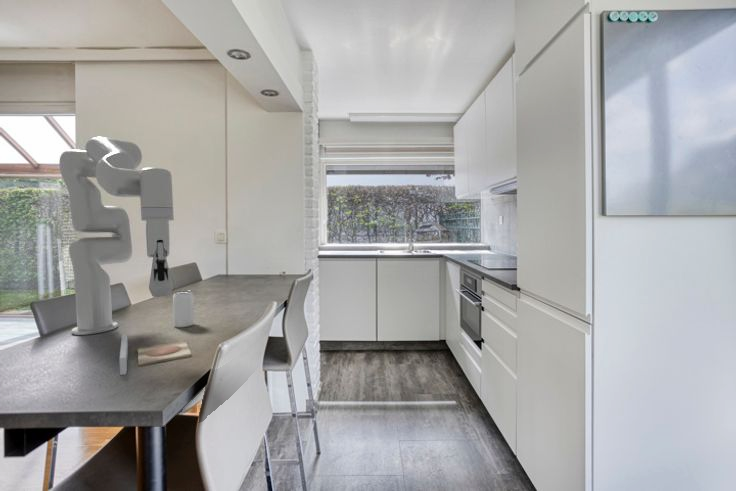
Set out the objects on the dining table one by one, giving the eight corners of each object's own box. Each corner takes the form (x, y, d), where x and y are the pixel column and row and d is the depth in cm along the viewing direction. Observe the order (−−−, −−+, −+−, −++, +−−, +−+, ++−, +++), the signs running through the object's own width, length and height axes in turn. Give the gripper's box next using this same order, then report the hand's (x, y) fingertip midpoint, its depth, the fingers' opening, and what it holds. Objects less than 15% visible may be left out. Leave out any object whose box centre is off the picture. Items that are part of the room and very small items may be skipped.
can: (180, 329, 122) (179, 294, 121) (170, 326, 125) (168, 292, 124) (198, 324, 127) (197, 291, 127) (187, 322, 131) (186, 289, 130)
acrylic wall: (122, 348, 102) (122, 335, 102) (127, 348, 103) (127, 334, 103) (120, 375, 84) (119, 358, 84) (126, 374, 85) (125, 357, 84)
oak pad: (137, 350, 101) (137, 347, 101) (185, 342, 108) (185, 339, 107) (138, 366, 89) (138, 363, 89) (191, 356, 96) (191, 353, 96)
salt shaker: (178, 293, 100) (176, 247, 99) (164, 297, 94) (162, 248, 93) (158, 293, 100) (156, 247, 100) (143, 297, 95) (141, 248, 94)
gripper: (140, 216, 101) (144, 280, 102) (141, 213, 87) (145, 288, 88) (170, 216, 105) (173, 278, 106) (176, 213, 91) (179, 285, 92)
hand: (160, 282), depth 97 cm, fingers closed on salt shaker, 3 cm apart
